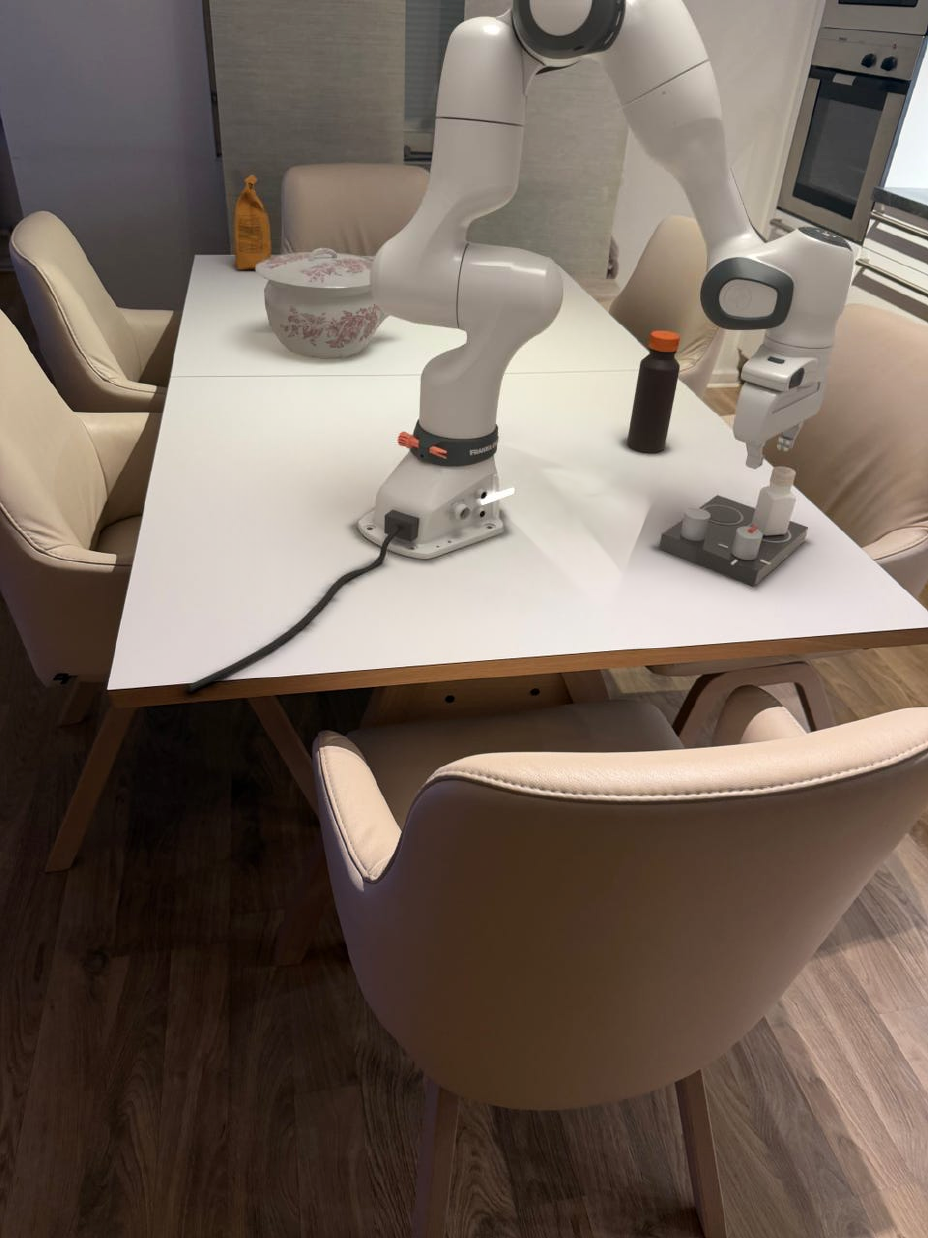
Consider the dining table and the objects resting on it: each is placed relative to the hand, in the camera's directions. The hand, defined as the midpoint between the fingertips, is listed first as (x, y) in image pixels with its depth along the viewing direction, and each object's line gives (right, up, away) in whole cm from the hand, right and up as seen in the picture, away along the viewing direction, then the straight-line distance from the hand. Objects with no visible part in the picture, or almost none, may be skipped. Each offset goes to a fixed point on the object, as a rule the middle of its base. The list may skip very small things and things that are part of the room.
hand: (768, 457), depth 134 cm
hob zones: (-3, -10, +7) cm, 12 cm away
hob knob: (-3, -13, +1) cm, 14 cm away
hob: (-3, -12, +8) cm, 14 cm away
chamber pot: (-72, +35, +71) cm, 107 cm away
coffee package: (-99, +72, +124) cm, 174 cm away
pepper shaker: (+2, -10, +7) cm, 12 cm away
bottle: (-10, +8, +37) cm, 40 cm away
